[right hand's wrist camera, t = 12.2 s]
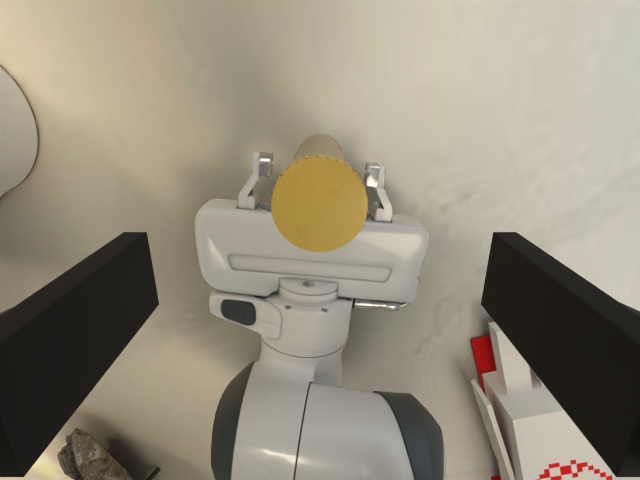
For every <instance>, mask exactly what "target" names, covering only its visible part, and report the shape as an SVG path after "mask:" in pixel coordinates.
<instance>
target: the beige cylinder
mask: <svg viewBox="0 0 640 480" xmlns="http://www.w3.org/2000/svg"><path fill="white" fill-rule="evenodd" d="M316 153H318V154H324V155H326V153H328V155H330V156H334V157H336V156H338V158H339V159H341V160H343V161H345V158H344V155H343V153H342V151H341V148H340V146H339V144H338V143H337V141H336V140H335V139H333V138H332V137H330V136H328V135H325V134H314V135H311V136H309V137H308V138H306V139H305V140H304V141H303V142H302V144H301V145H300V147H299V149H298V152H297V154H296V156H295V159H294V161H293V162H295V161H296V160H297V158H299V159H300V158H303V157H305V156H306V155H307V154H308V155H315V154H316Z"/></svg>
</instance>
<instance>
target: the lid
mask: <svg viewBox="0 0 640 480" xmlns="http://www.w3.org/2000/svg"><path fill="white" fill-rule="evenodd" d="M280 176H281V177H280V178H278V179H277V181H276V183H275V184H276V186H275V187H274V189H273V191H272V194H273V195H272V200H271V210H272V216H273V219H274V222H275V224H276V227H277V228H278V230H279V231H280V233H281V234H282V235H283V236H284V238H285V239H287V240H288V241H289V242H290V243H292V244H293V245H295V246H297V247H299V248H301V249H304V250H307V251H311V252H328V251H332V250H336V249H338V248H341V247H343V246H344V245H346V244H348V243H349V242H350V241H351V240H353V239H354V238H355V237H356V235H357V234H358V233H359V232H360V230H361V229H362V227H363V225H364V223H365V220H366V217H367V211H368V200H367V199H368V196H367V194H366V191H365V190H366V187H365V185H364V183H362V182H361V181H362V179H361V177H360V175H359V174H357V173H356V171H355V169H354V167H351V166H350V165H348V163H347V161H346V160H345V161H343V160H341V159H339V158H338V156H336V157H334V156H330V155H328V153H326V155H324V154H318V153H316V154H315V155H308V154H307V155H306V156H305V157H303V158H300V159H299V158H297V160H296V161H295V162H293V163H292V164H291V163H290V164H289V165H288V167H287V168H286V170H285V171H284V170H283V171H282V173H281V175H280Z"/></svg>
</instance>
